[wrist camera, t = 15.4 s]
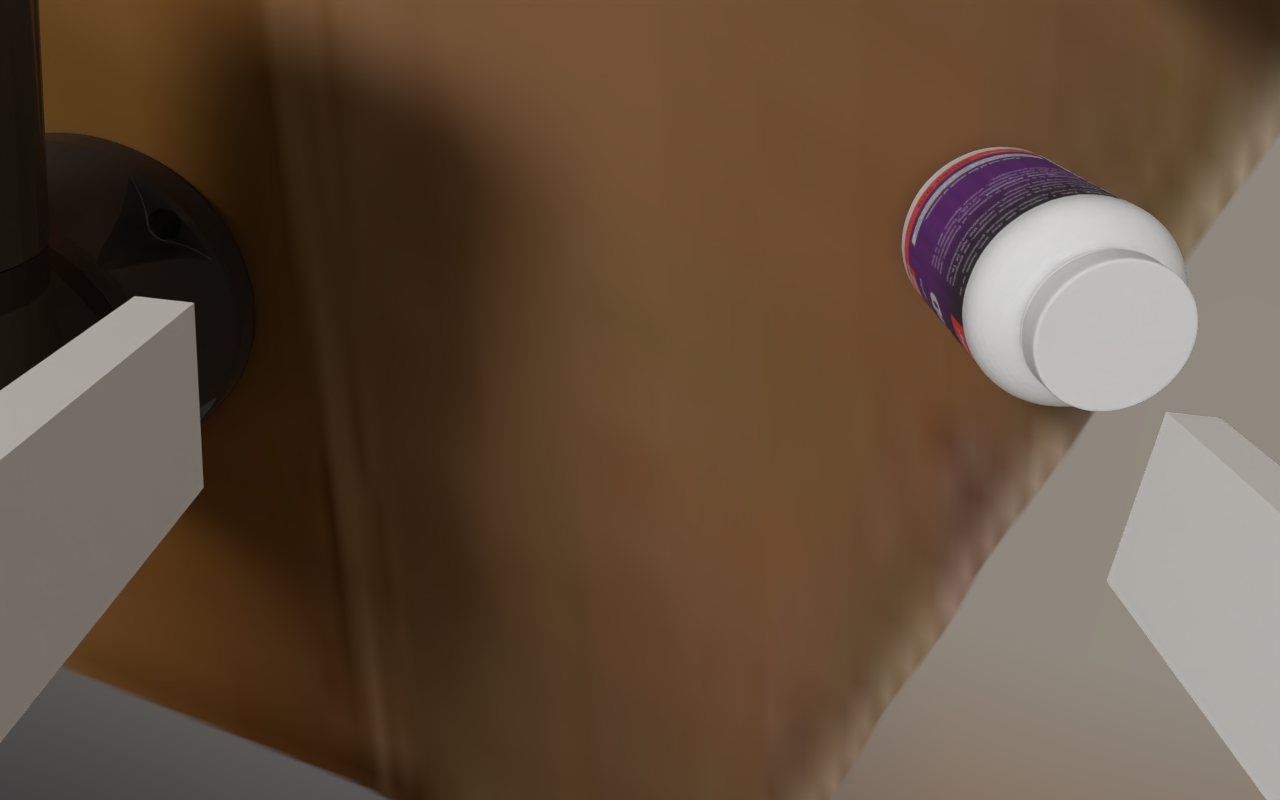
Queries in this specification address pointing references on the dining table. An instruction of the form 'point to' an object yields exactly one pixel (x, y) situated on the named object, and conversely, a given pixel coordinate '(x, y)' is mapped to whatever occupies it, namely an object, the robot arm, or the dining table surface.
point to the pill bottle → (1050, 281)
